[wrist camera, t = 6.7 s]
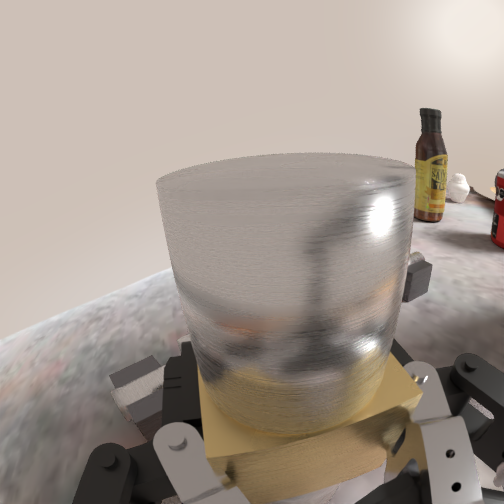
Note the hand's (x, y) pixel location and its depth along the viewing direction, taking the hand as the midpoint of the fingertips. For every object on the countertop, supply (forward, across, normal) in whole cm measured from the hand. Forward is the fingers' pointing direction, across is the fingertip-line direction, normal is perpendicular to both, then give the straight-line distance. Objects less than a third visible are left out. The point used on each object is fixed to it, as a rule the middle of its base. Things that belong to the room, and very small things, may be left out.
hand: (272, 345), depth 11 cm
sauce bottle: (+29, -37, +8) cm, 48 cm away
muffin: (+37, -56, +8) cm, 68 cm away
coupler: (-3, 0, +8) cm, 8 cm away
